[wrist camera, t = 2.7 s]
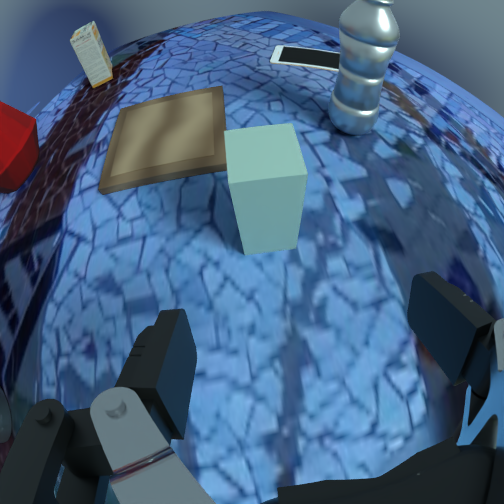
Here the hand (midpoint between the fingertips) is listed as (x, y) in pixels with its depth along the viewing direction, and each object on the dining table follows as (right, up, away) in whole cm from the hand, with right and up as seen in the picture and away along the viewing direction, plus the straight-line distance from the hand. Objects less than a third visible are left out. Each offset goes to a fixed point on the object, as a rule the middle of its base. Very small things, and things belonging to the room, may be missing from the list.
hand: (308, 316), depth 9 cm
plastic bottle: (+11, +19, +24) cm, 32 cm away
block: (0, +4, +19) cm, 19 cm away
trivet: (-13, +17, +25) cm, 33 cm away
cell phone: (+10, +36, +32) cm, 49 cm away
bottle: (-42, +16, +27) cm, 53 cm away
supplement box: (-33, +39, +36) cm, 62 cm away
